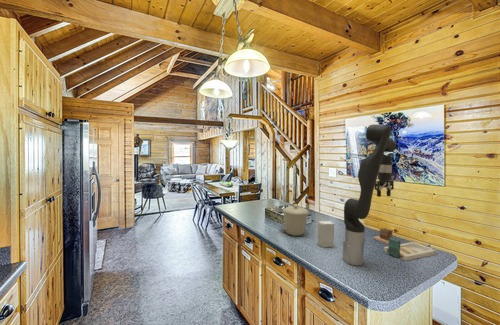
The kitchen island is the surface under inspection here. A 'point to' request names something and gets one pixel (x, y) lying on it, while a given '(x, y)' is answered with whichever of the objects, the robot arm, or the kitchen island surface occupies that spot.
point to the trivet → (381, 239)
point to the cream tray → (421, 250)
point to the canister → (295, 220)
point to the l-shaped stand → (398, 248)
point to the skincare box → (326, 233)
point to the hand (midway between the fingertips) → (383, 196)
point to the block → (385, 234)
